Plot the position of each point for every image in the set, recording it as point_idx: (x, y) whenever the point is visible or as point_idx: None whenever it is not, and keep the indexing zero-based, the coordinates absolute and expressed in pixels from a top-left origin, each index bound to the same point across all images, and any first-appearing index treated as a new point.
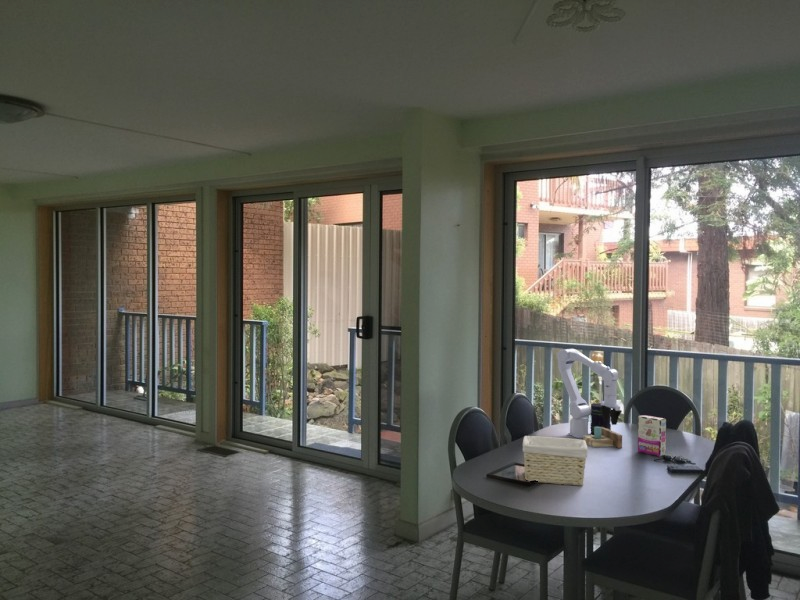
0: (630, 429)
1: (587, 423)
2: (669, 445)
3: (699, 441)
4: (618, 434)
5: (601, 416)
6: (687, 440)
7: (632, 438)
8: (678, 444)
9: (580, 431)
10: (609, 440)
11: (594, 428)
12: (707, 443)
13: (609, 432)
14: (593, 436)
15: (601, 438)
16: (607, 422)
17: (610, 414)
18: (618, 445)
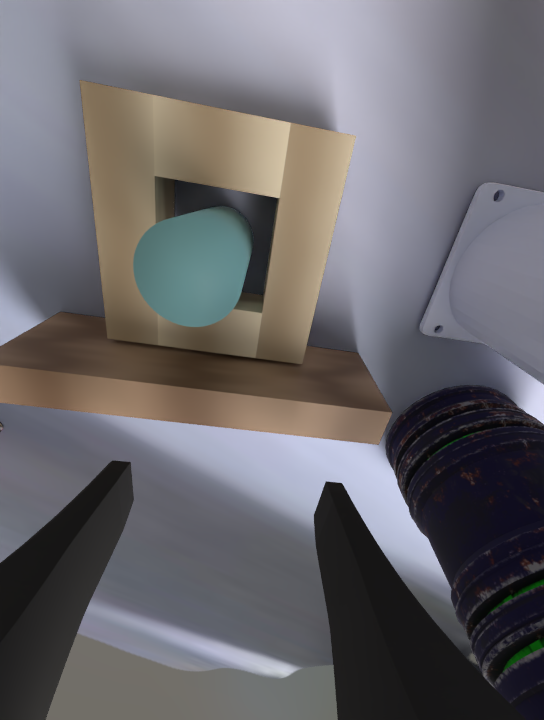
0: (434, 591)
1: (536, 364)
2: (117, 567)
3: (165, 650)
4: (22, 388)
5: (499, 561)
6: (188, 636)
7: (287, 521)
8: (130, 595)
9: (512, 243)
10: (105, 301)
11: (204, 219)
12: (133, 652)
13: (169, 379)
14: (277, 242)
15: (236, 304)
16: (433, 535)
17: (8, 617)
18: (46, 323)
